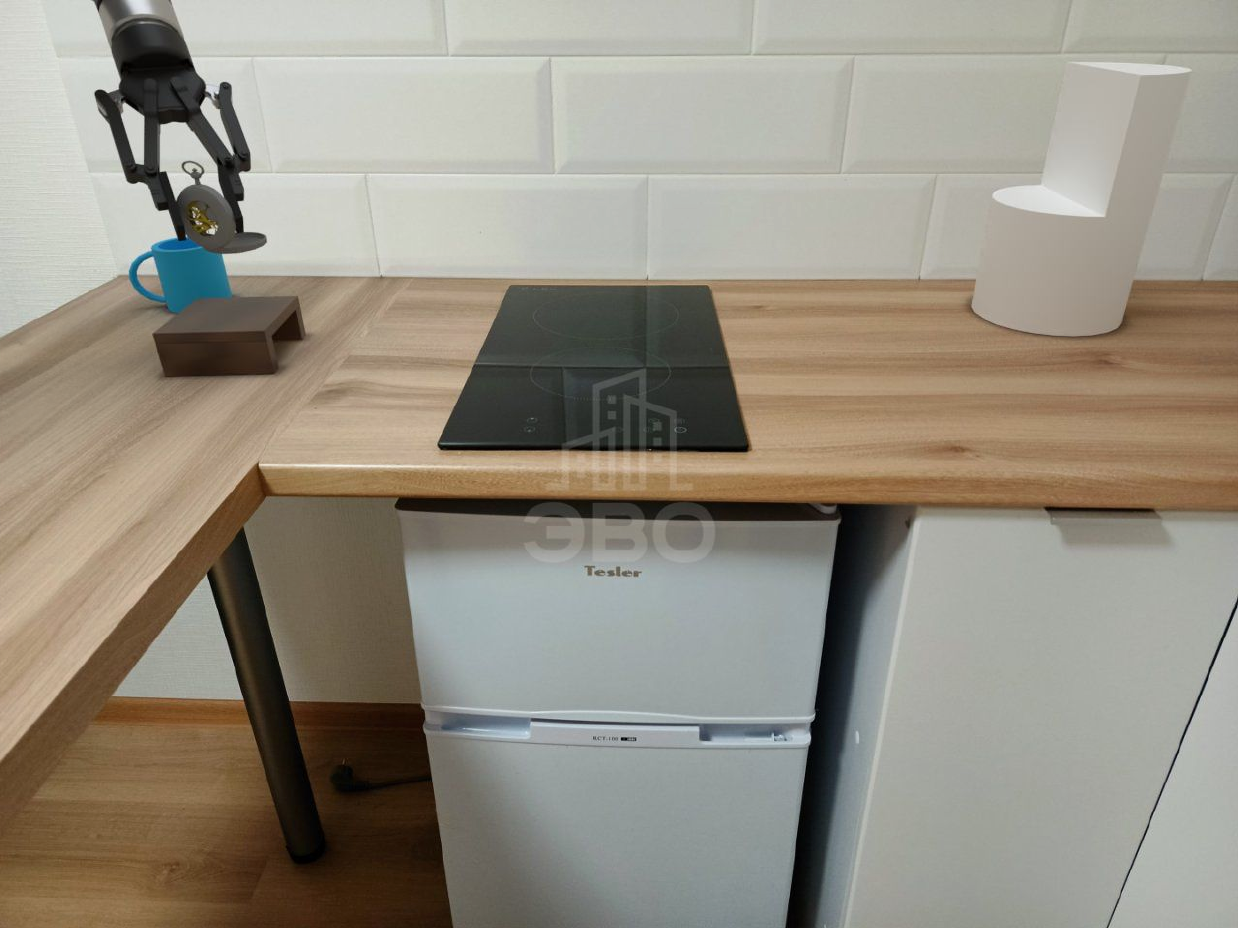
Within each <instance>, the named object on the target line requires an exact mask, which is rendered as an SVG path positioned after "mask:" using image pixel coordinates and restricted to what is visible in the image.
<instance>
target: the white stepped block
mask: <svg viewBox="0 0 1238 928" xmlns="http://www.w3.org/2000/svg"><path fill="white" fill-rule="evenodd" d="M1192 73H1193V69H1191V68H1188V67H1184V66H1177V65H1168V64H1157V63H1156V64H1155V63H1142V62H1140V63H1139V62H1117V61H1116V62H1115V61H1113V62H1112V61H1066V63H1065V69H1064V73H1063V78H1062V82H1061V86H1060V93H1059V97H1058V101H1057V106H1056V109H1055V110H1056V111H1055V115H1054V120H1053V124H1052V129H1051V134H1050V137H1049V138H1050V139H1049V142H1048V148H1047V153H1046V157H1045V161H1044V166H1043V171H1042V175H1041V180H1040V184H1032V185H1031V184H1030V185H1017V186H1009V187H1004V188H1001V189H998V190H995V191H994V192H992V195H991V199H990V205H989V206H990V207H989V209H988V210H989V211H988V216H987V221H986V226H985V231H984V238H983V241H982V248H981V253H980V257H979V262H978V268H977V274H976V280H975V284H974V289H973V295H972V301H971V306H970V307H971V309H972V311H973V313H974V314H976V315H977V316H979V317H980V318H982V319H983V320H984V321H985V320H986V321H988V322H990V323H992V324H994V325H997V326H1000V327H1004V328H1007V329H1011V330H1014V331H1019V332H1025V333H1029V334H1036V335H1044V336H1053V337H1075V338H1076V337H1088V336H1089V337H1091V336H1097V335H1098V336H1099V335H1103V334H1108V333H1110V332H1112V331H1114V330H1118V328H1119V327H1120V325H1121V324H1122V323H1123V318H1124V315H1125V311H1126V307H1127V305H1128V300H1129V297H1130V293H1131V290H1132V287H1133V284H1134V283H1133V282H1134V279H1135V275H1136V272H1137V269H1138V265H1139V261H1140V258H1141V255H1142V252H1143V247H1144V243H1145V240H1146V236H1147V233H1148V229H1149V225H1150V222H1151V218H1152V215H1153V212H1154V209H1155V204H1156V201H1157V197H1158V194H1159V190H1160V186H1161V184H1162V179H1163V176H1164V172H1165V169H1166V165H1167V162H1168V158H1169V155H1170V151H1171V147H1172V144H1173V141H1174V137H1175V133H1176V130H1177V126H1178V123H1179V119H1180V117H1181V116H1180V114H1181V112H1182V109H1183V104H1184V100H1185V98H1186V94H1187V90H1188V86H1189V83H1190V80H1191V77H1192Z"/></svg>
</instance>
